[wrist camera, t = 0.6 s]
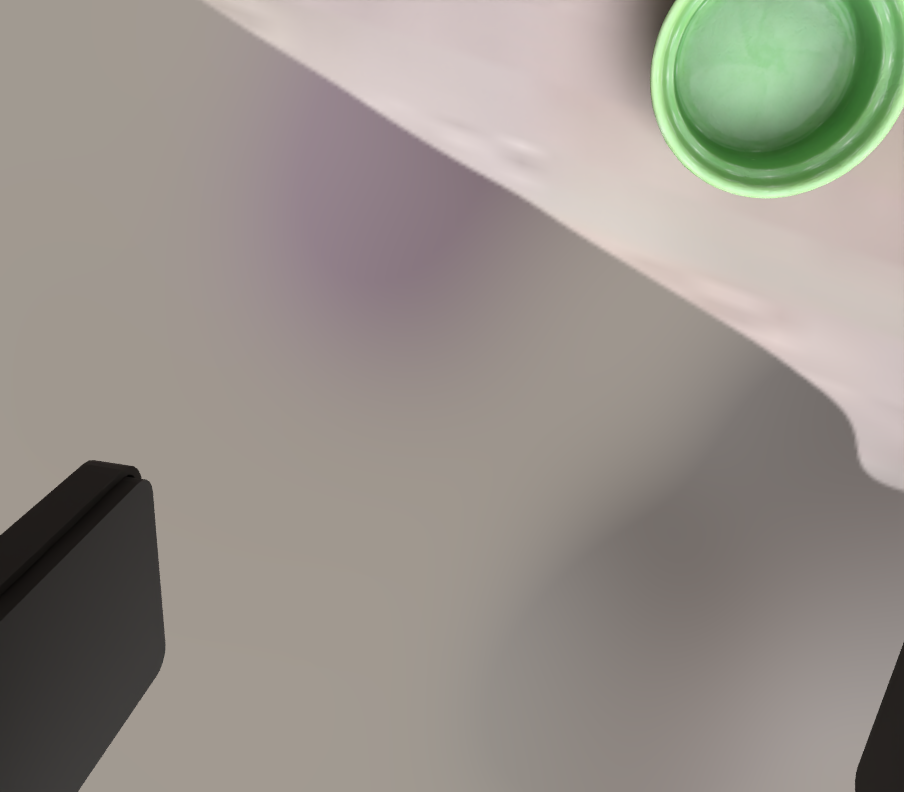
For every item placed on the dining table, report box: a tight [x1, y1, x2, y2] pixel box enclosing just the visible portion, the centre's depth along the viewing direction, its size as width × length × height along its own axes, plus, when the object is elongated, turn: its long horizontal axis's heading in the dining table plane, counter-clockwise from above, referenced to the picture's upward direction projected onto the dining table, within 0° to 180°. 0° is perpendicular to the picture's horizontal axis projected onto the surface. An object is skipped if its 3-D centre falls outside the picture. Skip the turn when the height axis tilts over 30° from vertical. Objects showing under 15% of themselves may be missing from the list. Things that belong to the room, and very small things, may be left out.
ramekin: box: [650, 0, 904, 198], centre depth 32 cm, size 9×9×4 cm
